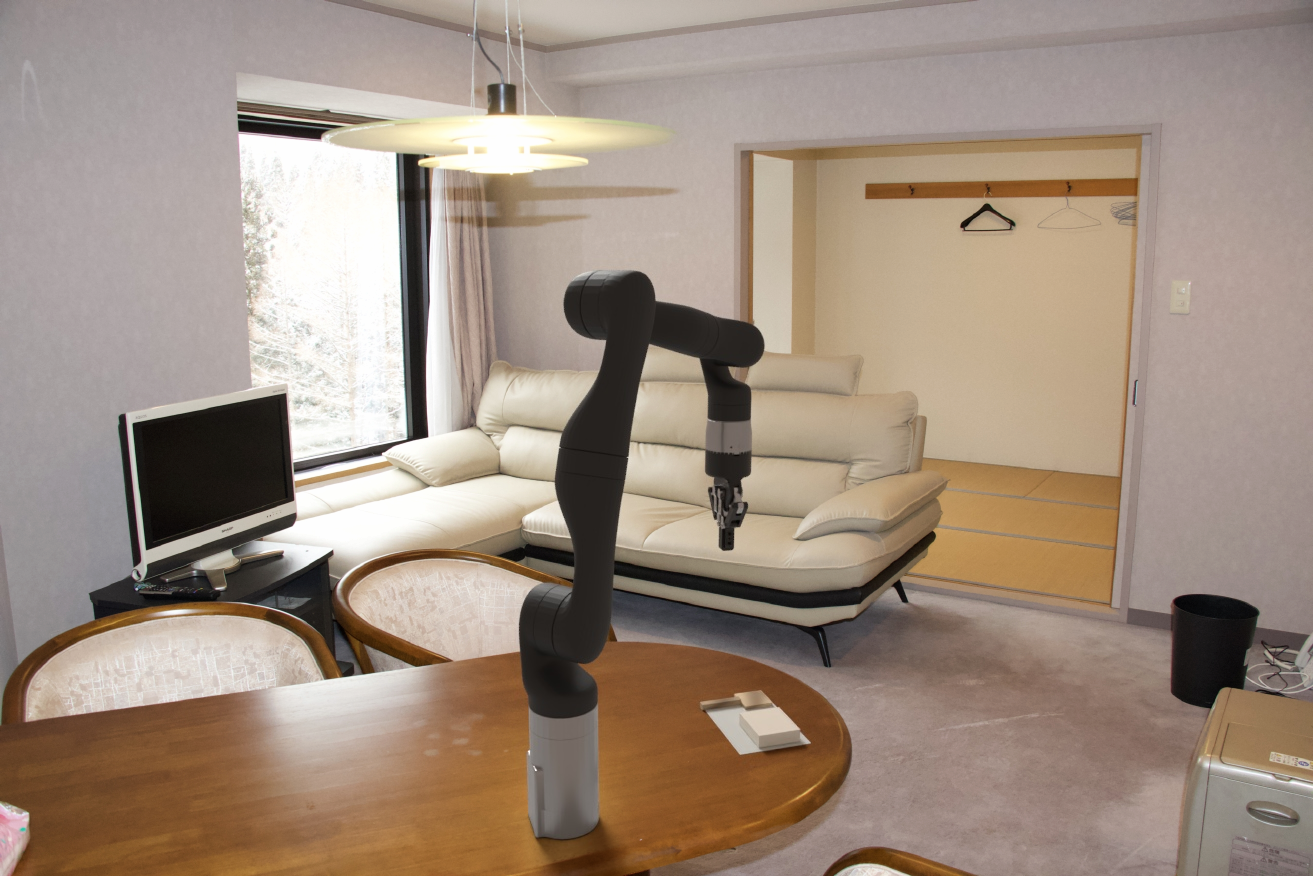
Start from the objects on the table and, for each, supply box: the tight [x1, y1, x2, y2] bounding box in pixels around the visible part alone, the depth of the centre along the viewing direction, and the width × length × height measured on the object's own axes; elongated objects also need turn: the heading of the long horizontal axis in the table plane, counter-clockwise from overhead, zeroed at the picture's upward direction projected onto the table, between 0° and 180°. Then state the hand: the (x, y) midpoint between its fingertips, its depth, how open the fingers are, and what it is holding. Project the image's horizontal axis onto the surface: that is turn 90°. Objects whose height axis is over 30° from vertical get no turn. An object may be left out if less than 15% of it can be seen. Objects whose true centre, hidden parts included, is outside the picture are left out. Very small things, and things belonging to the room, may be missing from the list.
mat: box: [704, 703, 811, 756], centre depth 158 cm, size 12×18×1 cm, turn 17°
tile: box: [739, 706, 801, 748], centre depth 154 cm, size 7×2×8 cm
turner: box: [699, 689, 774, 712], centre depth 164 cm, size 12×5×1 cm, turn 107°
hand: (726, 549), depth 159 cm, fingers closed
